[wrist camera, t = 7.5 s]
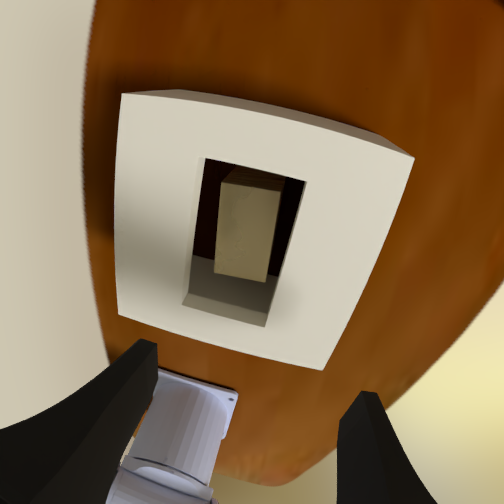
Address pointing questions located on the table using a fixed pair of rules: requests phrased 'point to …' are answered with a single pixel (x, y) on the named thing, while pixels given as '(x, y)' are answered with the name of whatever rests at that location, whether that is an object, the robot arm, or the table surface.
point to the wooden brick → (247, 222)
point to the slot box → (301, 239)
